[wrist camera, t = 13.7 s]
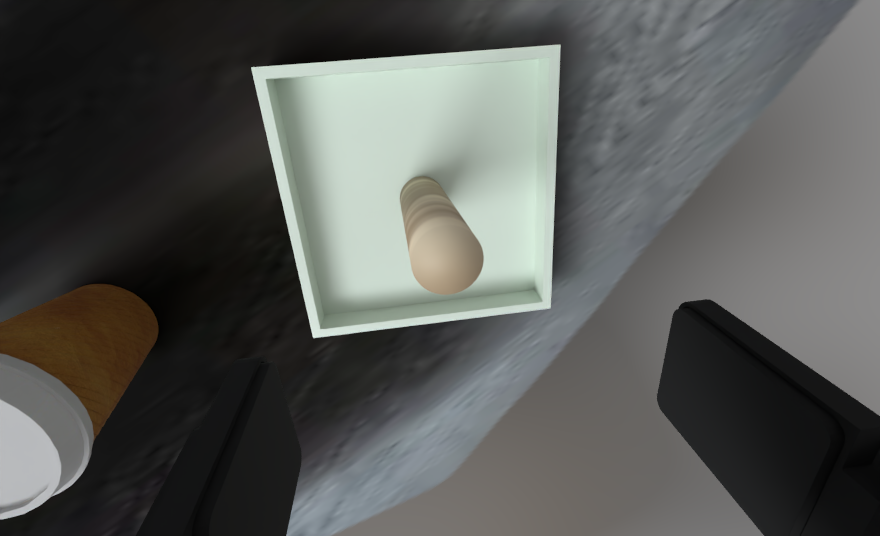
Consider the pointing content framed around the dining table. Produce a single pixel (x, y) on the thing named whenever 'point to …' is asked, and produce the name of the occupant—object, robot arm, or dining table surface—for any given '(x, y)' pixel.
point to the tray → (408, 156)
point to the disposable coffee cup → (64, 386)
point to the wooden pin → (438, 239)
